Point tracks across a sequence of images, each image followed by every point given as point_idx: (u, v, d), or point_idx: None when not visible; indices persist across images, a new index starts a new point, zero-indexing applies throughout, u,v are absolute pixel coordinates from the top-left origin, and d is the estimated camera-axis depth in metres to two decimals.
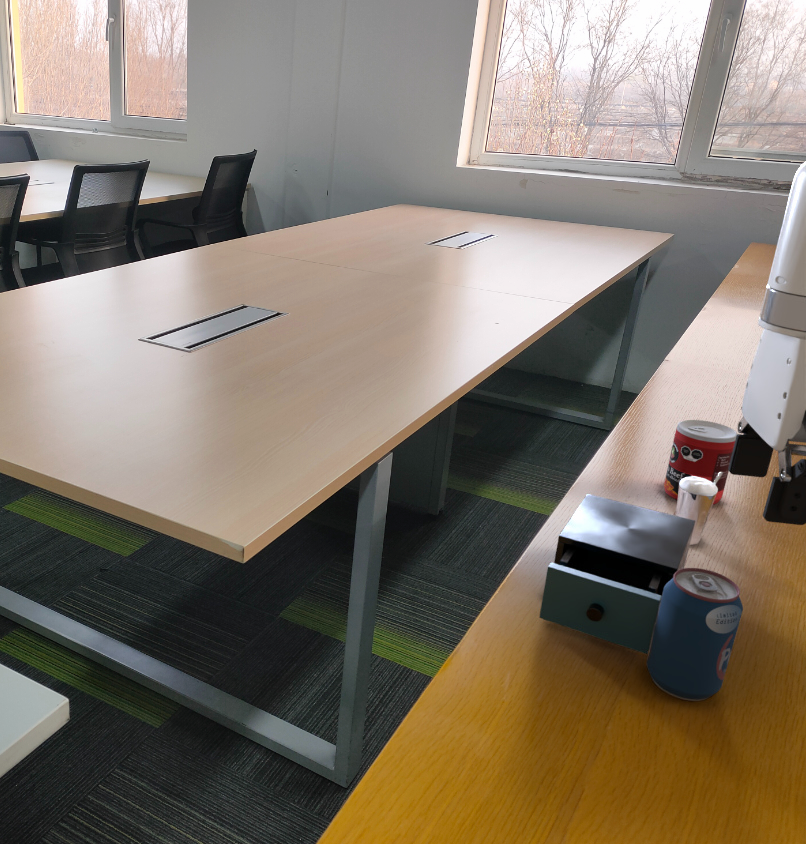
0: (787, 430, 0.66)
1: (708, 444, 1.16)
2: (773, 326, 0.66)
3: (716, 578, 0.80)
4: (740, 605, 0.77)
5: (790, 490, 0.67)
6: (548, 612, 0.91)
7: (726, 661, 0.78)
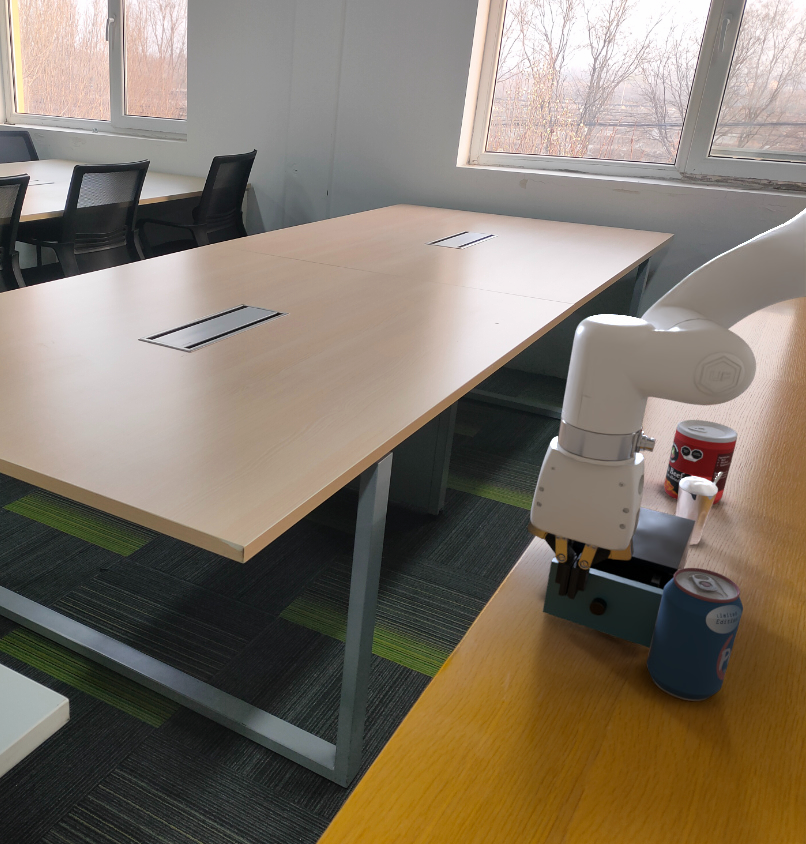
0: (630, 534, 0.81)
1: (708, 444, 1.16)
2: (605, 462, 0.78)
3: (716, 578, 0.80)
4: (740, 605, 0.77)
5: (587, 571, 0.86)
6: (551, 607, 0.92)
7: (726, 661, 0.78)
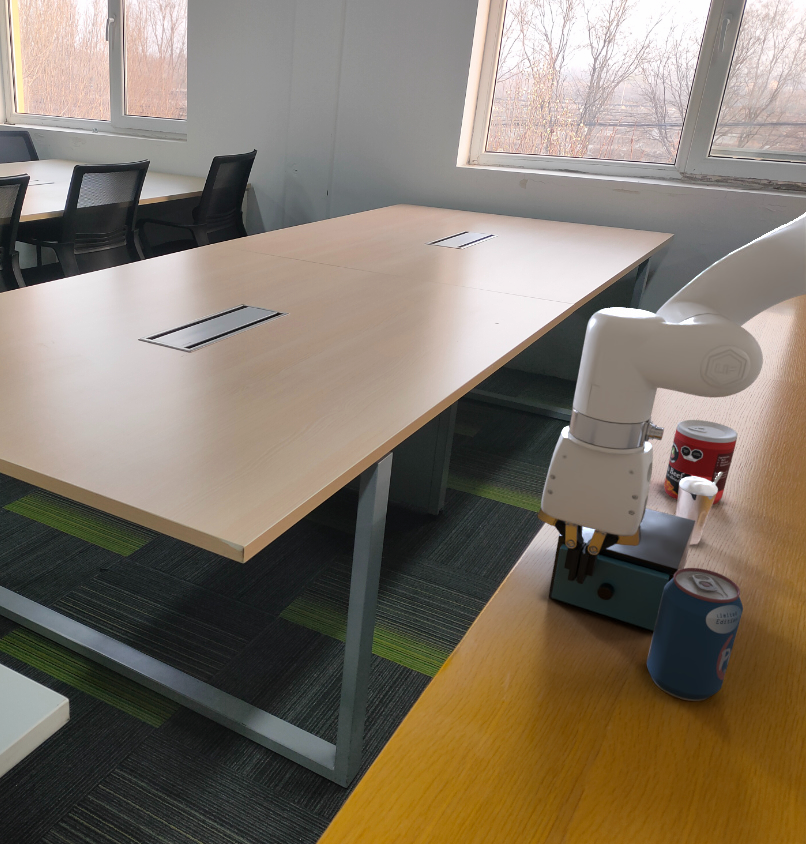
0: (639, 520, 0.84)
1: (708, 444, 1.16)
2: (616, 450, 0.81)
3: (716, 578, 0.80)
4: (740, 605, 0.77)
5: (595, 557, 0.89)
6: (560, 592, 0.94)
7: (726, 661, 0.78)
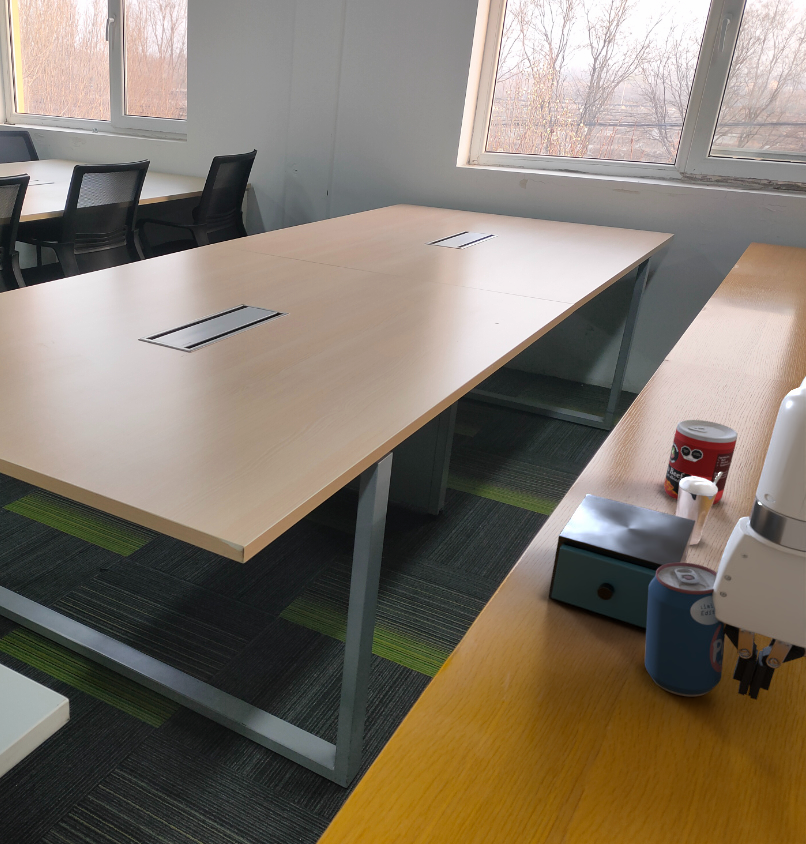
0: None
1: (708, 444, 1.16)
2: None
3: (699, 570, 0.80)
4: None
5: (774, 669, 0.76)
6: (560, 592, 0.94)
7: (720, 652, 0.78)
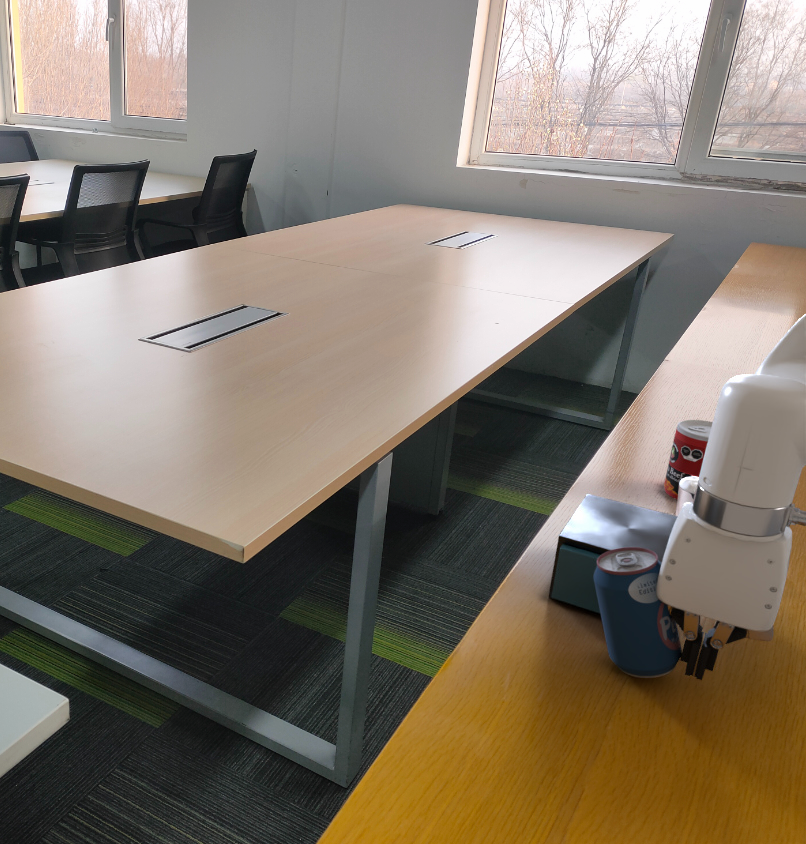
0: (776, 615, 0.73)
1: None
2: (755, 537, 0.71)
3: (639, 552, 0.83)
4: None
5: None
6: (560, 592, 0.94)
7: (670, 630, 0.80)
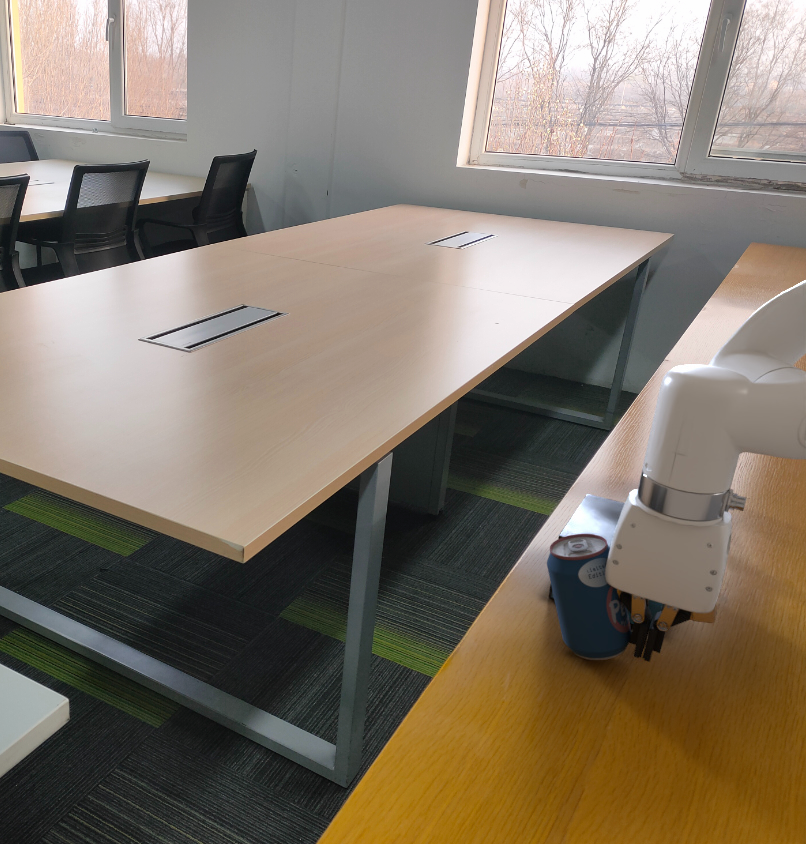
0: (716, 597, 0.76)
1: None
2: (694, 522, 0.74)
3: (591, 539, 0.85)
4: None
5: None
6: None
7: (619, 613, 0.83)
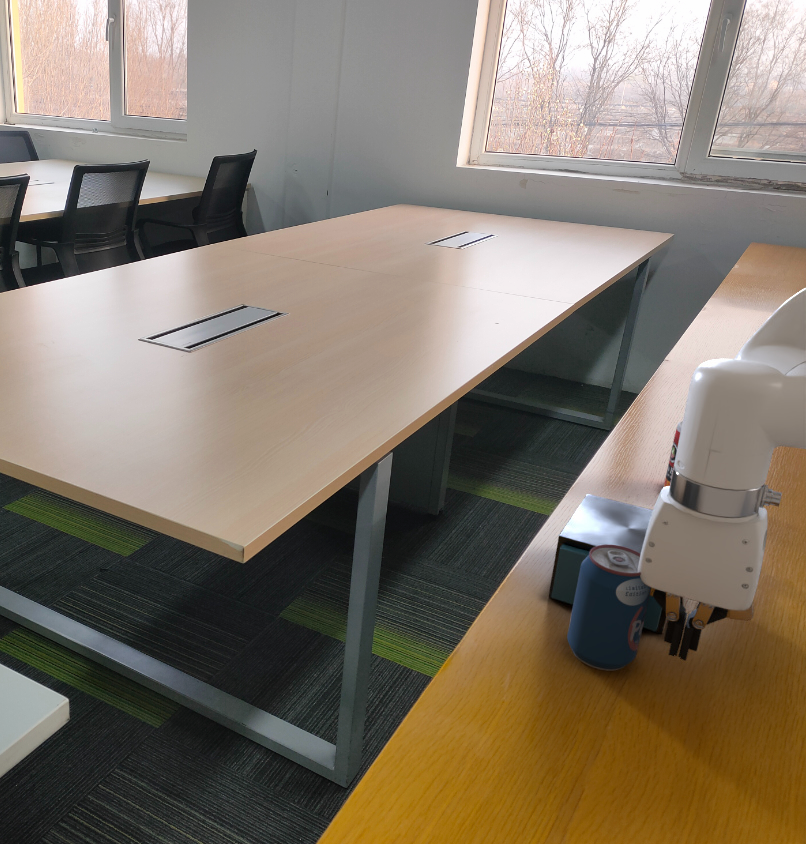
0: (753, 594, 0.75)
1: None
2: (728, 519, 0.72)
3: (630, 554, 0.84)
4: None
5: None
6: (560, 592, 0.94)
7: (637, 632, 0.83)
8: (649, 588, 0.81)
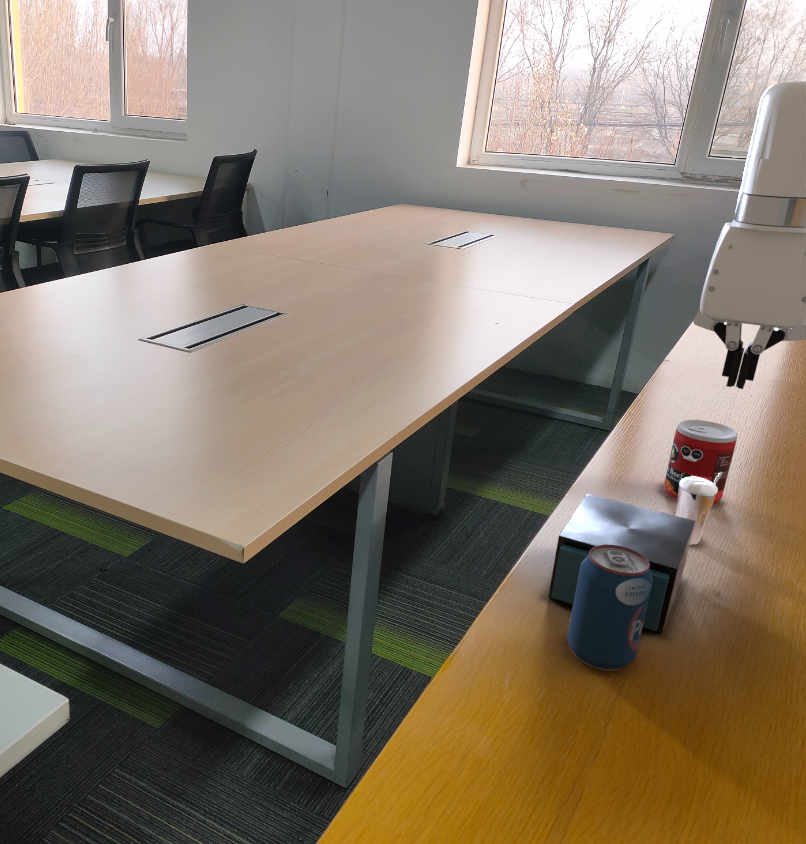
0: None
1: (708, 444, 1.16)
2: (792, 228, 0.78)
3: (630, 554, 0.84)
4: (649, 579, 0.81)
5: (758, 358, 0.86)
6: (560, 592, 0.94)
7: (637, 632, 0.83)
8: (649, 588, 0.81)
